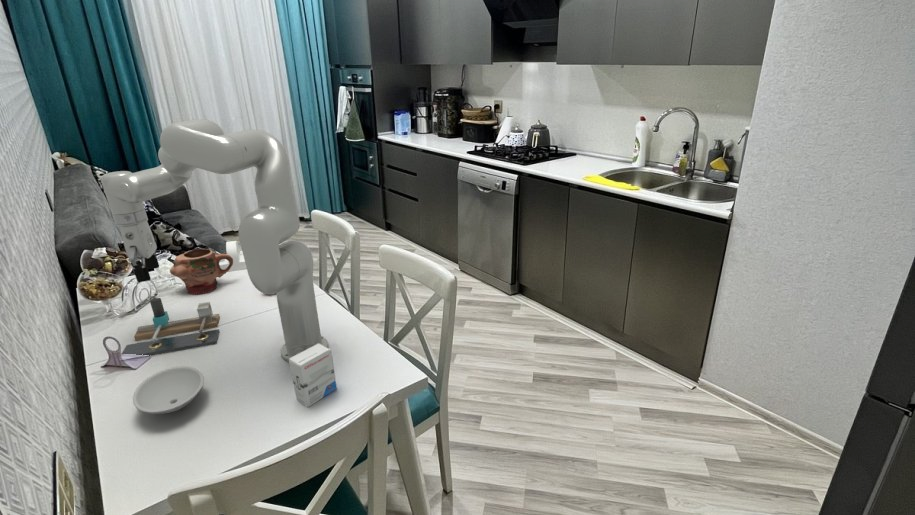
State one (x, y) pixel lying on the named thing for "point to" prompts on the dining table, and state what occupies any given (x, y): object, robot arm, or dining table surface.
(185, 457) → the dining table surface
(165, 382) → the dish
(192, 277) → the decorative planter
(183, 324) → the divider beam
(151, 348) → the hole plate
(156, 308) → the sliding leg
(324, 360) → the ink box
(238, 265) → the tape dispenser
